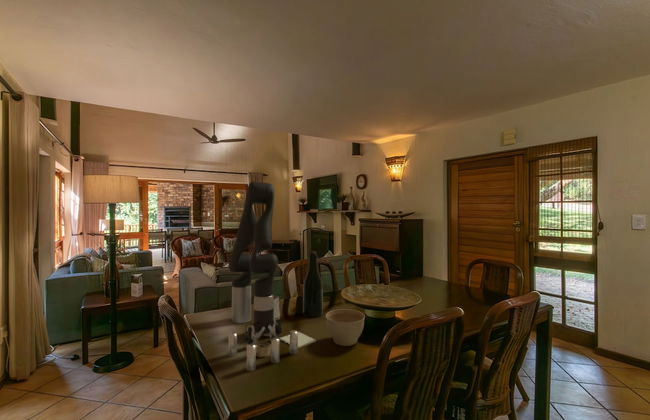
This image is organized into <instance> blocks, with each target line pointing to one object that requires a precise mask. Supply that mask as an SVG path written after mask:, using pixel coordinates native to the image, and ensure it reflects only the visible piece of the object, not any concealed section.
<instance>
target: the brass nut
mask: <svg viewBox="0 0 650 420" xmlns="http://www.w3.org/2000/svg"><path fill="white" fill-rule="evenodd" d="M256 356H257V357H258V358H267V357H269V356H271V343H270V342H268V341H263V342H262V341H261V342H257V345H256Z"/></svg>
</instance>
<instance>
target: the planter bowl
mask: <svg viewBox="0 0 650 420" xmlns="http://www.w3.org/2000/svg"><path fill="white" fill-rule="evenodd" d="M365 318H366V316H365V314H364V313H363V312H361V311H358V310H354V309H350V308H349V309H347V308H345V309H343V308H341V309H335V310H331V311H328V312H327V313H326V314H325V319H326V326H327V330H328V332H329V334H330V336H331V337H332V338H333V342H334V343H335V344H336V345H338V346H343V347H346V346H347V347H348V346H349V347H350V346H353V345H355V344H357V342H358V339H359V337H360V336H361V335H362V332H363V330H364V327H365V326H364V325H365Z"/></svg>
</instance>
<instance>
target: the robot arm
mask: <svg viewBox="0 0 650 420" xmlns="http://www.w3.org/2000/svg"><path fill="white" fill-rule="evenodd" d="M274 203H275V188H274V184H272V183H268V182H263V181H255V180H254V181H250V182H249V183H248V186H247V189H246V195H245V199H244V205H243V210H242V214H241V218H240V222H239V224H238V228H237V234H236V235H235V236H236V237H235V241H234V245H233V247H232V250H231V253H230V256H229V258H228V269H229V271H230V272H231V273H241V274H240V275H239V276H238V277H236V278H234V279H232V280H231V281H232V282H231V322H232V323H234V324H245V323H249V322H250V321H251V320H252V280H253V274H263V273H265V274H266V273H267V274H266V276H265V277H261V278H258V279H256V280H255V281H254V283H253V285H254V287H253V289H254V292H253V294H254V297H253V326H252V325H246V326H245V335H244V342H245V343H247V345H248V344H252V343H253V344H255V343H256V341H257V342H258V340H259V339H260V338H261V336H263V335H264V334H268V333H270V334H271V335H272V336H271V338H274V337H278V336H279V335H281V334H282V325H281V323H282V321H281V318H280V319H278V318H275V319H274V298H273V296H274V282H275V276H276V273H277V269H278V266H279V259H278V256H277V255H276V254H274V253H262V252H264V251H268V250H270V249H272V247H273V230H272V226H273V214H274V207H275V206H274V205H275V204H274ZM254 204H259V205H260V204H261V205H265V207H264V212H263V213H262V215H261V216H260V217H259V219H258V218H257V215H256V214H255V211H254V208H253V206H254ZM252 244H253V250H252V254H251V253H250V252H245V250H247V249H248V248H249V247H250V246H251V245H252ZM273 319H274V320H273ZM274 324H275V331H274V329H273V328H272V327H273V325H274ZM253 329H254V332H253ZM252 332H253V334H252ZM256 333H257V335H256Z"/></svg>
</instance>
